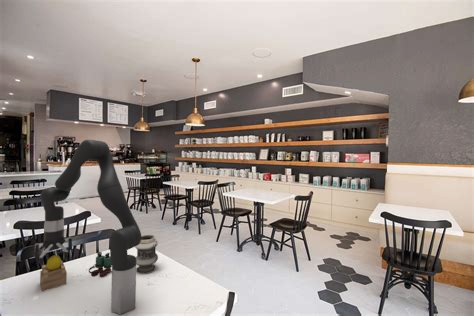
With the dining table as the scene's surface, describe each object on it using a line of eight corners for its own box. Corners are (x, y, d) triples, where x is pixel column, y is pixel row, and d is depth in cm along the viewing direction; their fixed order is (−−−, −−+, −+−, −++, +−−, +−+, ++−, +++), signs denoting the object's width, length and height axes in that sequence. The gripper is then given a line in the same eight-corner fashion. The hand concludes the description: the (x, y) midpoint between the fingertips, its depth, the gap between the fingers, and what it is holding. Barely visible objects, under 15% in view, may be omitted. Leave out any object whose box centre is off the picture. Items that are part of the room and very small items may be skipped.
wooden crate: (66, 284, 111) (66, 267, 111) (42, 291, 105) (42, 273, 105) (63, 276, 118) (63, 260, 118) (40, 283, 111) (40, 266, 111)
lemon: (43, 274, 108) (44, 258, 107) (49, 268, 113) (50, 252, 113) (57, 274, 109) (58, 257, 109) (62, 268, 115) (63, 252, 114)
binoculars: (85, 260, 116) (98, 249, 126) (86, 279, 117) (99, 268, 127) (101, 261, 115) (114, 251, 125) (102, 281, 116) (115, 269, 126)
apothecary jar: (132, 266, 130) (133, 235, 130) (154, 261, 137) (155, 231, 136) (136, 276, 120) (137, 242, 120) (160, 271, 127) (161, 238, 126)
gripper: (35, 234, 103) (34, 269, 104) (73, 227, 113) (73, 260, 114) (33, 229, 109) (33, 263, 109) (70, 223, 119) (70, 255, 119)
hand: (53, 262), depth 111 cm, fingers open, 8 cm apart
